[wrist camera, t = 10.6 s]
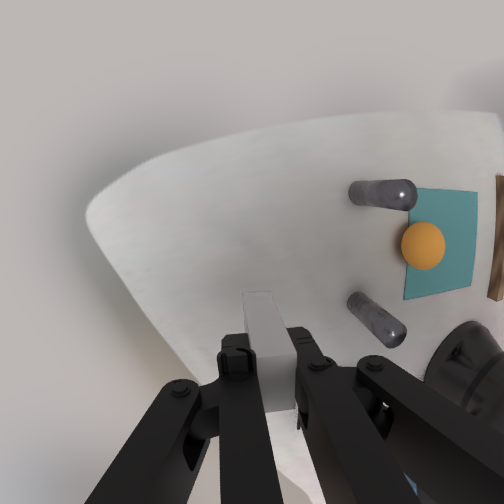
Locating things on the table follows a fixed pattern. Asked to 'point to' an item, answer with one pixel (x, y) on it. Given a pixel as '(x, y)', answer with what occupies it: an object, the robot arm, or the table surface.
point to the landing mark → (456, 241)
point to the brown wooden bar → (498, 246)
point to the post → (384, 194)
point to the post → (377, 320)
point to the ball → (423, 245)
